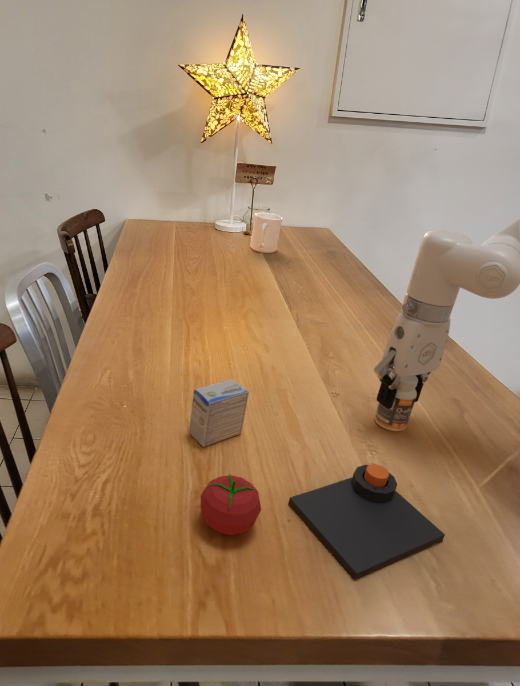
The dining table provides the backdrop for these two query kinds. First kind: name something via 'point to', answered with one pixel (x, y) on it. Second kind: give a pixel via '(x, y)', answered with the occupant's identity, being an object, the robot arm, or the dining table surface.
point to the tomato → (230, 505)
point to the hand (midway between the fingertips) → (397, 400)
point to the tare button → (376, 475)
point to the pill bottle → (398, 405)
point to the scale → (365, 523)
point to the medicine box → (218, 412)
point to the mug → (265, 232)
